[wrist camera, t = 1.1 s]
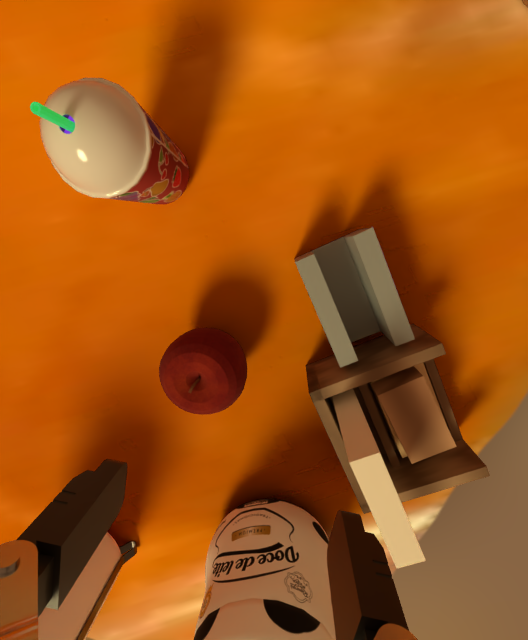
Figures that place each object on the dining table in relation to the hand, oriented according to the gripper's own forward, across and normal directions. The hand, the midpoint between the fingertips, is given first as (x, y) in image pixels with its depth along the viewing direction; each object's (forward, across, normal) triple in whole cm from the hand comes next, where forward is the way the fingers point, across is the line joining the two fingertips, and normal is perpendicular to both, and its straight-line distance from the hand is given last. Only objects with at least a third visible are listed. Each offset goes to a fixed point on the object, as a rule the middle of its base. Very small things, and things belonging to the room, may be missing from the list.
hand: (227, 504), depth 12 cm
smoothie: (+30, +16, -15) cm, 37 cm away
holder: (+30, -8, -6) cm, 32 cm away
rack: (+30, -16, +7) cm, 35 cm away
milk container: (+31, -6, +32) cm, 45 cm away
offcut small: (+26, -17, +6) cm, 31 cm away
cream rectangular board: (+29, -13, +10) cm, 33 cm away
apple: (+30, +6, +6) cm, 32 cm away
